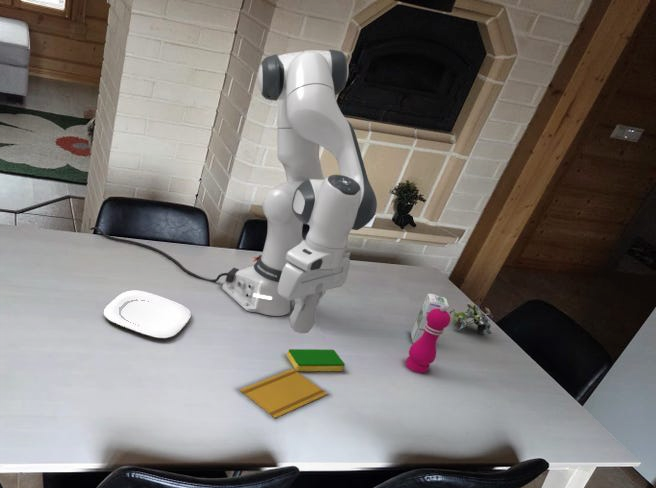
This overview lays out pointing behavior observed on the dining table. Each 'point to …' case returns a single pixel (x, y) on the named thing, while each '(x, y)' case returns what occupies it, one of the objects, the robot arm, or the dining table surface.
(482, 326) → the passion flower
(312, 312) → the salt shaker
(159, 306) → the plate
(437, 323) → the pepper mill
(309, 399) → the cloth
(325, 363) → the dish sponge
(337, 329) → the dining table surface
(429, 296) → the syrup box
